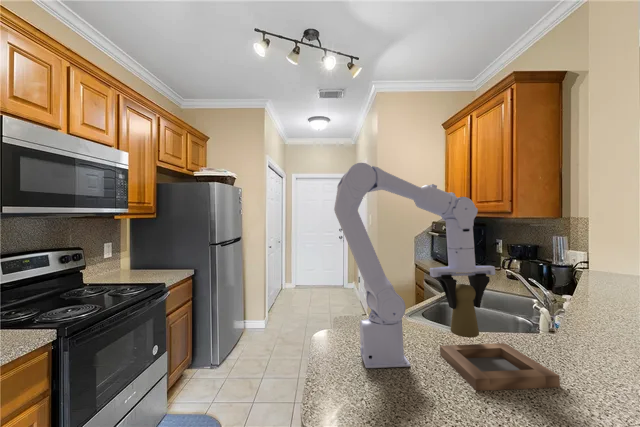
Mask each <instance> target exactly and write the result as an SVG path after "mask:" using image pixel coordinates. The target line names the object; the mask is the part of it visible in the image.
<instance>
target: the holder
mask: <svg viewBox="0 0 640 427" xmlns="http://www.w3.org/2000/svg"><path fill="white" fill-rule="evenodd" d="M439 355H440V356H441V357H442V358H443V359H444V361H446V362H447V363H448V364H449V365H450V366H451V367H452V368H453V369H454V370H455V371H456V372H457V373H458V374H459V375H460V376H461V377H462V378H463V379H464V380H465V382H467V383H468V384H469V385H470V386H471V388H473V389H474V390H475V391H477V392H478V391H481V390H482V391H499V390H500V391H501V390H502V391H503V390H506V391H507V390H522V389H523V390H524V389H526V390H527V389H549V388H551V389H552V388H561V381H560V375H559V374H558V373H556V372H554V371H552V370H551V369H549V368H547V367H546V366H544V365H542V364H541V363H539V362H537V361H536V360H534V359H533V358H530V357H529V356H527V355H525V354H524V353H522V352H521V351H519V350H517V349H516V348H514V347H512V346H510V345H509V344H507V343H505V342H501V343H499V342H498V343H497V342H495V343H479V344H478V343H477V344H476V343H475V344H474V343H473V344H451V345H439Z"/></svg>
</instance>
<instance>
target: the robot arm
mask: <svg viewBox="0 0 640 427" xmlns="http://www.w3.org/2000/svg"><path fill="white" fill-rule="evenodd" d="M437 187H438V185H436V184H434V183H432V184H430V185H429V184H424V185H423V186H418V185H416V184H413V183H411V182H409V181H408V180H404V179H403V178H400V177H398V176H396V175H393V174H392V173H390V172H387V171H385V170H383V169H382V168H380V167H378V166H375V165H372V166H371V165H369V164H368V163H366V162H358V163H354V164H353V165H351V166H350V168H349V170H348V171H347V172H346V173H344V174H343V175H342V176H341V179H340V180H339V182H338V184H337V187H336V188H337V190H336V196H335V202H334V209H333V211H334V213H335V216H336V218H337V221H338V223H339V226H340V228H341V230H342V232H343V235H344V237H345V239H346V242H347V244H348V247H349V249H350V252H351V253H352V256H353V258H354V261H355V263H356V265H357V268H358V270H359V272H360V275H361V277H362V279H363V287H364V289H365V292H366V293H365V294H366V296H365V297H366V300H365V301H366V304H367V306H368V308H369V309H370V310H371V311H370V313H369V316H368V318H366V319H361V320H360V321H359V340H360V346H359V349H360V356H361V359H362V361H363V363H364V366H365V367H364V368H366V369H380V368H381V369H382V368H401V367H402V368H404V367H411V363H410V361H409V359H407V357H406V355H405V354H404V352H405V351H404V350H405V349H404V334H403V333H404V332H403V318H404V315H405V312H406V310H407V309H406V303H405V300H404V299H403V297H402V296H401V295H399V294H398V293H397V292H396V290H395V288H394V285H393V284H392V283H391V281H390V280H389V278H388V277H387V275H386V274H385V271H384V269H383V267H382V264H381V262H380V259H379V257H378V255H377V253H376V250H375V248H374V246H373V245H374V244H372V241H371V238H370V236H369V235H368V232H367V229H366V227H365V225H364V222H363V221H362V217H361V215H360V212H359V211H358V210H359V207H360V205H361V203H362V201H363V200H364V197H365V196H366V194H368V193H371V192H376V191H385V192H389V193H391V194H394V195H397V196H399V197H403V198H406V199H409V200H412V201H414V203H415V204H414V205H415V206H416V207H417V208H419V209H421V210H424V211H426V212H429V213H432V214H434V215H437V216H439V217H441V218H442V220H443V221H444V222H445V230H446V231H445V232H446V233H445V235H446V247H447V248H446V249H447V263H448V265H447V266H438V267H429V277H432V278H436V279H437V281H438V283H439V284H440V286H441V288H442V291H443V292H444V294H445V297H446V300H447V304H448V307H449V308H451V309H452V310H453V309H456V296H455V291H456V284H457V282H458V280H456V279H455V278H454V277H459V276H460V277H463V276H467V277H468V278H467V279H468V282H469V285H470V286H472V287H473V288H474V289H475V292H476V296H475V299H474V300H473V302H474V307H475V308H477V309H480V308H481V307H482V306H481V305H482V300H483V295H484V292H485V290H486V289H487V286H488V284H489V282H490V280H491V279H490V276H495V275H496V267H495V266H493V265H476V254H475V239H474V226H475V225H474V221H475V218H476V217H477V215H478V211H479V209H478V207H476V204H475V203H474V202H473V200H472V199H470V198H469V197H466V196H460V197H457V196H456V193H454V192H452V191H451V192H447V191H444V190H441V189H439V188H437ZM488 275H490V276H488Z"/></svg>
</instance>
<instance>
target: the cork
mask: <svg viewBox="0 0 640 427" xmlns="http://www.w3.org/2000/svg"><path fill="white" fill-rule="evenodd" d="M455 296H456V309H452V312H451V321H450V322H451V323H450V329H449V330H450V332H451V333H452V334H454V335H455V336H458V337H462V338H476V337H478V336H480V330H479V326H478V320H477V314H476V309H475V308H476V307H475V306H474V302H473V300H474V299H475V296H476V292H475V289H474V288H473V287H472V286H470V284H465V283H456V291H455Z"/></svg>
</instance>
